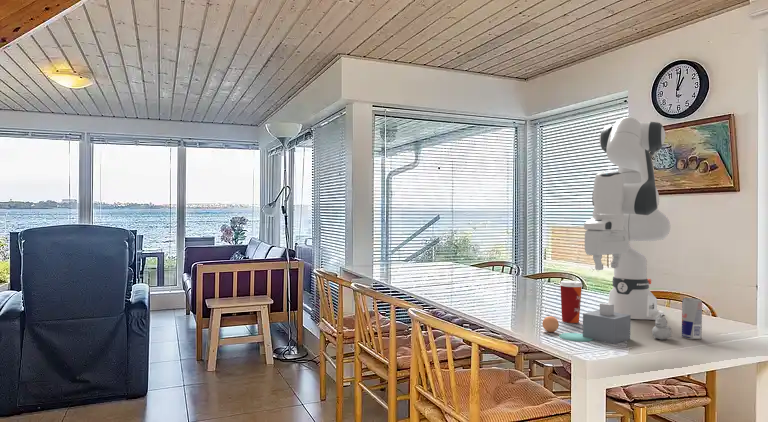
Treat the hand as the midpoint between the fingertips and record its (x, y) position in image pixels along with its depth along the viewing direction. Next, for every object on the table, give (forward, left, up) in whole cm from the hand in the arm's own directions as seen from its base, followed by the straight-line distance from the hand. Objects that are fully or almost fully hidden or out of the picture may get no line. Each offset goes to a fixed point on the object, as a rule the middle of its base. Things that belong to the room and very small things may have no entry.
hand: (607, 269), depth 163 cm
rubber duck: (-13, +11, -22) cm, 27 cm away
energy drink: (-22, +16, -22) cm, 35 cm away
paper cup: (-13, -20, -22) cm, 32 cm away
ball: (+7, -15, -19) cm, 25 cm away
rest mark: (+7, -6, -21) cm, 23 cm away
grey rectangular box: (0, 0, -21) cm, 21 cm away
